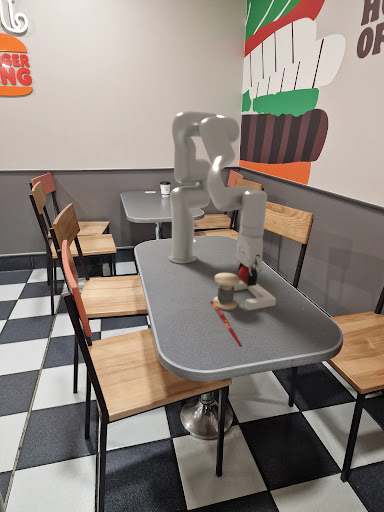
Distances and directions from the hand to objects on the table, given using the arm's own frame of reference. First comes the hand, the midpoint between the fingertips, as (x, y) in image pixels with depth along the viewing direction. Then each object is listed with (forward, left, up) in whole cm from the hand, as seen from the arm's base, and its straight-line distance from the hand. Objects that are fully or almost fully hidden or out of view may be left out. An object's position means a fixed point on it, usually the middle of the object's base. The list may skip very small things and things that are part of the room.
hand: (246, 280), depth 107 cm
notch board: (0, +2, -6) cm, 7 cm away
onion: (0, 0, -1) cm, 1 cm away
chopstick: (+11, -13, -7) cm, 19 cm away
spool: (+2, -9, -6) cm, 11 cm away
